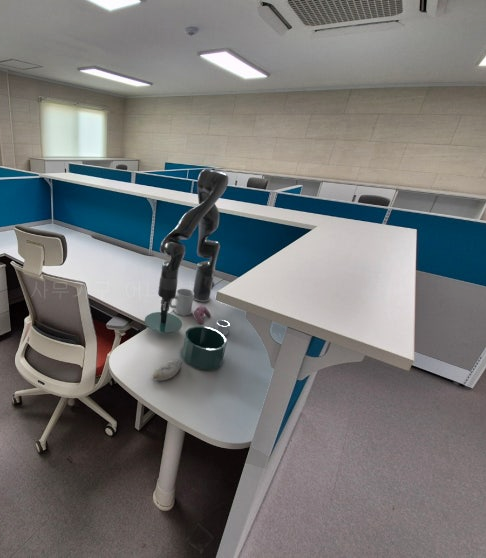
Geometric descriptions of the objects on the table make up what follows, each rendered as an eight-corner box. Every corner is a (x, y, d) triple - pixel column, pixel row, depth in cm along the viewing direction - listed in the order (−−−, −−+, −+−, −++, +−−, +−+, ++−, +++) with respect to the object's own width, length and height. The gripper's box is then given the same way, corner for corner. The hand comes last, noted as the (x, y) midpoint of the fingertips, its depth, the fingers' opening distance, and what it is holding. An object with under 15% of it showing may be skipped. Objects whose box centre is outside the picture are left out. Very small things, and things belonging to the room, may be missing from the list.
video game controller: (203, 316, 153) (199, 303, 152) (211, 316, 149) (208, 303, 149) (194, 324, 146) (190, 311, 145) (203, 324, 142) (199, 310, 142)
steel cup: (214, 327, 141) (216, 318, 139) (227, 330, 140) (229, 320, 138) (214, 334, 136) (216, 325, 134) (227, 336, 135) (229, 327, 133)
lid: (148, 311, 146) (149, 300, 143) (183, 317, 142) (185, 306, 139) (141, 330, 131) (142, 318, 129) (180, 337, 127) (182, 325, 125)
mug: (186, 306, 158) (189, 288, 154) (193, 315, 151) (197, 295, 146) (165, 308, 156) (167, 289, 151) (171, 317, 148) (174, 297, 144)
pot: (183, 341, 130) (186, 323, 126) (221, 349, 126) (225, 330, 122) (180, 365, 116) (183, 345, 113) (222, 374, 113) (227, 353, 109)
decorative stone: (186, 368, 115) (187, 361, 114) (160, 387, 105) (161, 380, 104) (173, 360, 119) (174, 353, 118) (147, 378, 109) (148, 370, 108)
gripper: (175, 294, 122) (170, 329, 129) (178, 280, 134) (173, 313, 141) (156, 291, 123) (152, 326, 130) (161, 277, 136) (157, 311, 143)
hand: (163, 319), depth 136 cm, fingers closed on lid, 2 cm apart
